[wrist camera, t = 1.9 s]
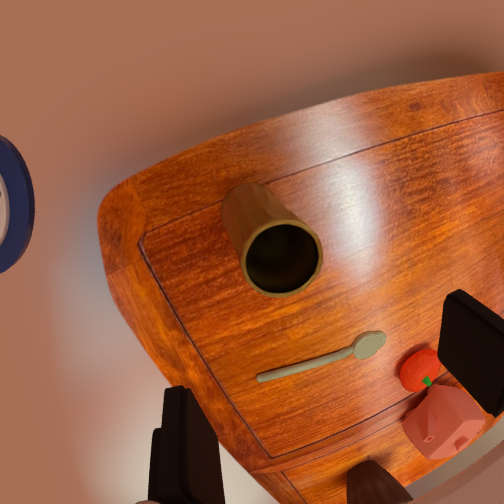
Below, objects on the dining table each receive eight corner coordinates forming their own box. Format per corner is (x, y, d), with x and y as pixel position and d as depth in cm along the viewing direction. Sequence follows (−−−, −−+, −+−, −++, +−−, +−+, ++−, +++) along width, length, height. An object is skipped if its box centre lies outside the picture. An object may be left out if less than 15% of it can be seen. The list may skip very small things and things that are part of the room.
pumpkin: (435, 352, 45) (456, 373, 39) (403, 384, 46) (421, 407, 40) (422, 334, 43) (444, 356, 37) (386, 369, 44) (405, 394, 38)
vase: (284, 229, 33) (337, 286, 20) (230, 247, 33) (249, 317, 20) (269, 175, 31) (319, 198, 18) (212, 193, 31) (219, 230, 18)
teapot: (378, 420, 49) (410, 474, 36) (420, 372, 46) (463, 423, 33) (434, 424, 55) (462, 463, 42) (468, 384, 52) (502, 421, 39)
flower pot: (319, 485, 56) (338, 537, 41) (358, 451, 52) (386, 507, 37) (362, 482, 60) (382, 527, 45) (400, 450, 56) (427, 496, 41)
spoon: (258, 386, 41) (260, 392, 39) (252, 364, 39) (254, 370, 38) (383, 347, 42) (387, 352, 41) (385, 324, 40) (389, 328, 39)
